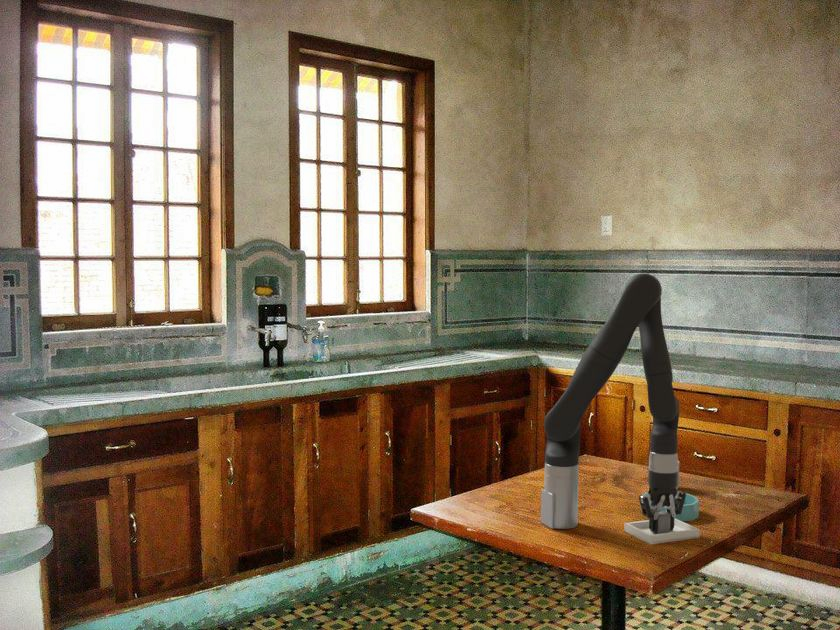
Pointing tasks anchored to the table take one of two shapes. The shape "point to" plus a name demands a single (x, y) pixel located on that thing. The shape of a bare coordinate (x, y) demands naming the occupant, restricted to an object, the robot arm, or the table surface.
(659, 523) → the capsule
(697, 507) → the bowl
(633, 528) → the tray
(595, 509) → the table surface
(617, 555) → the table surface
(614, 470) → the table surface
